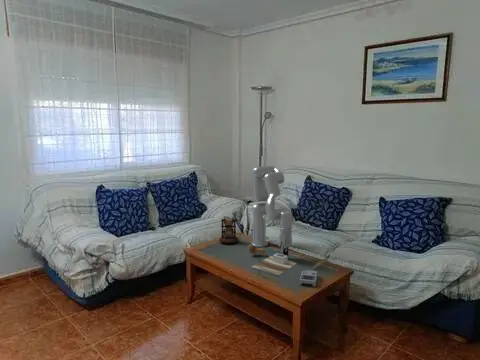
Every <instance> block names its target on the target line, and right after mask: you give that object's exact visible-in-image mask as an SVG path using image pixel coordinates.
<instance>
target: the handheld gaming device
mask: <svg viewBox="0 0 480 360" xmlns="http://www.w3.org/2000/svg"><path fill="white" fill-rule="evenodd" d="M317 278H318V270H307V269H306V270H302V271H301V274H300V277H299V283H298V284H299V285H301V286H302V285H303V284H306V285H312V287H316V284H317V281H318V280H317Z"/></svg>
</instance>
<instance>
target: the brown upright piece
mask: <svg viewBox="0 0 480 360" xmlns="http://www.w3.org/2000/svg"><path fill="white" fill-rule="evenodd" d="M220 221H221V224H220V225H221V231H220V232H221V233H220V234H221V237H219V238H218V241H219V242H220V244H221V243H222V244H233V245H235V243H237V242H238V241H239V237H237V235H236V233H237V232H236V230H237V229H236V228H237V225H236V224H237V223H236V221H237V219H235V218H234V217H232V218H226V217H225V216H223V219H220Z"/></svg>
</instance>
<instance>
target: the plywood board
mask: <svg viewBox="0 0 480 360" xmlns="http://www.w3.org/2000/svg"><path fill="white" fill-rule="evenodd" d="M296 264H297V262H295V261H291V260H288V262H286V263H285V264H282V263H278V262H274V261H273V255H270V256H267V257H265V259H263V260H261V261H259V262H257V263H256V264H254V265H252V266H251V268H253V270H254V271H258V272H261V273H265V274H268V275H270V276H274V277H278V278H280V276H279V275H281V274H282V273H283V274H284V272H286V271H288V270H289V269H290V268H292V267H293V266H295V265H296ZM255 268H256V269H255ZM258 269H259V270H258ZM271 273H272V274H271Z"/></svg>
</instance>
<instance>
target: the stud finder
mask: <svg viewBox="0 0 480 360" xmlns="http://www.w3.org/2000/svg"><path fill="white" fill-rule="evenodd" d="M272 257H273V261H274V262H278V263H282V264H285V263H286V262H288V261H289V259H288V257H289V255H288V256H287V255H283V253H278V252H277V253H274V254H273V255H272Z"/></svg>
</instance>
